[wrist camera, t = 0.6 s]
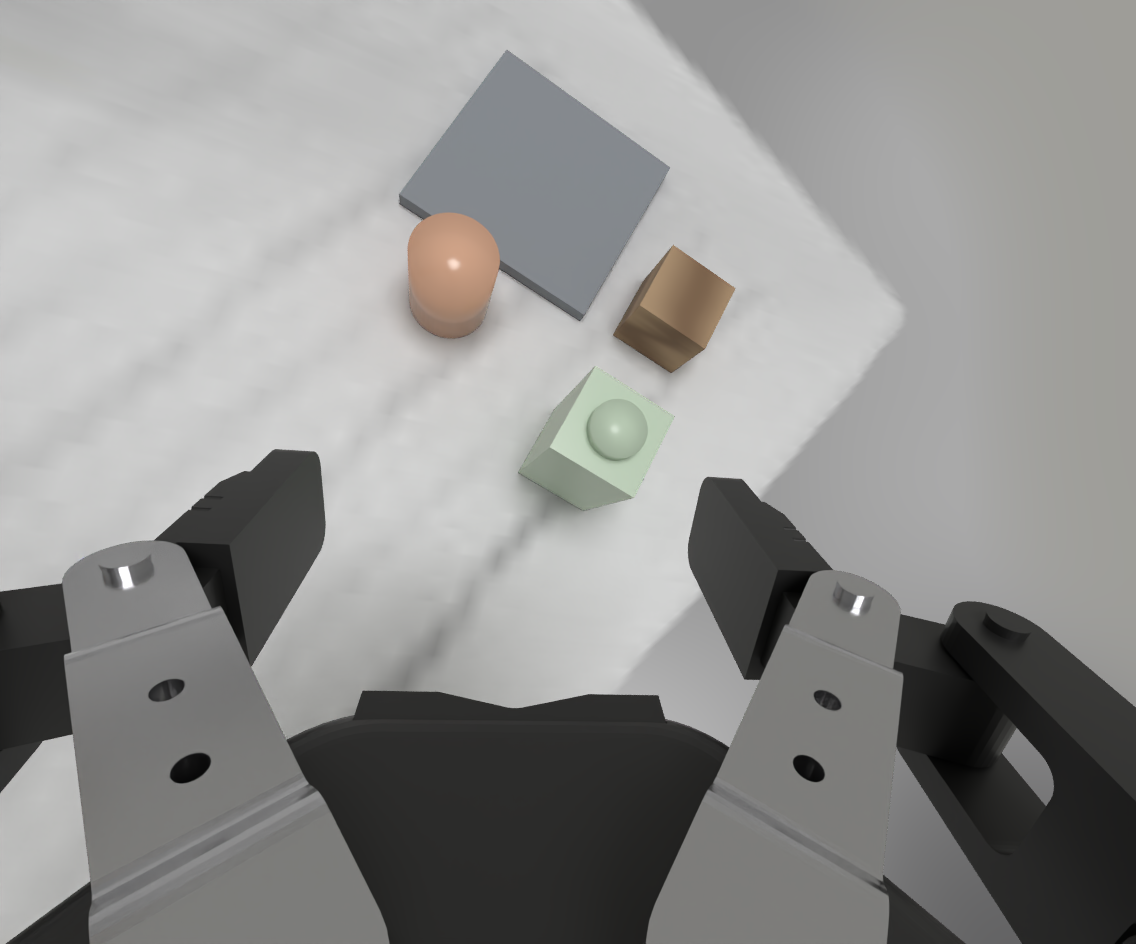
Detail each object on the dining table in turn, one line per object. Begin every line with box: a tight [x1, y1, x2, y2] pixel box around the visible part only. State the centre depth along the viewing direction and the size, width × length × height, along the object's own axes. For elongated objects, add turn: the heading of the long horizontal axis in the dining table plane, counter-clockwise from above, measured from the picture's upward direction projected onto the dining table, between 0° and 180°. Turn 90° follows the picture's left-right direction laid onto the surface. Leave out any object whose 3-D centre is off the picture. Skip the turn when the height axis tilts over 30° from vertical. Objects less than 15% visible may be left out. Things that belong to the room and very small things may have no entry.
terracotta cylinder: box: [408, 212, 500, 338], centre depth 34 cm, size 5×5×6 cm
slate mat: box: [399, 50, 670, 320], centre depth 39 cm, size 14×14×1 cm
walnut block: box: [613, 245, 735, 373], centre depth 38 cm, size 5×5×5 cm
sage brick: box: [518, 366, 675, 511], centre depth 32 cm, size 5×5×10 cm
